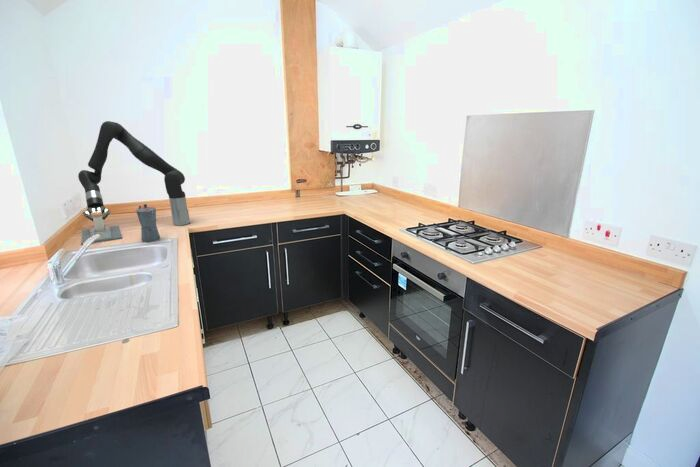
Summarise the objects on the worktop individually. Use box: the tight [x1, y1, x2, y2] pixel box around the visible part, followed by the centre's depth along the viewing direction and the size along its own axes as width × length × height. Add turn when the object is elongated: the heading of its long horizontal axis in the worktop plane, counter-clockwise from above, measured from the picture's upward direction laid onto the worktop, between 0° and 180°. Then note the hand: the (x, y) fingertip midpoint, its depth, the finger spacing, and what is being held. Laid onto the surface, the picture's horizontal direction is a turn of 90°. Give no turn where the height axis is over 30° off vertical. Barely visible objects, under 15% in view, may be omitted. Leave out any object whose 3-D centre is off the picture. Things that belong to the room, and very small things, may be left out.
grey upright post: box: [90, 211, 105, 232], centre depth 186 cm, size 5×5×13 cm
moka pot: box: [135, 203, 161, 243], centre depth 183 cm, size 10×15×20 cm, turn 58°
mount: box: [89, 225, 112, 241], centre depth 186 cm, size 12×9×4 cm
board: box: [80, 224, 123, 246], centre depth 193 cm, size 28×18×1 cm, turn 36°
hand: (99, 225), depth 189 cm, fingers closed
